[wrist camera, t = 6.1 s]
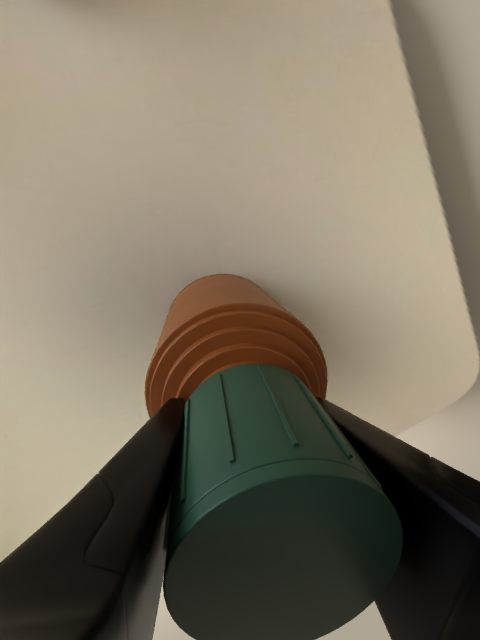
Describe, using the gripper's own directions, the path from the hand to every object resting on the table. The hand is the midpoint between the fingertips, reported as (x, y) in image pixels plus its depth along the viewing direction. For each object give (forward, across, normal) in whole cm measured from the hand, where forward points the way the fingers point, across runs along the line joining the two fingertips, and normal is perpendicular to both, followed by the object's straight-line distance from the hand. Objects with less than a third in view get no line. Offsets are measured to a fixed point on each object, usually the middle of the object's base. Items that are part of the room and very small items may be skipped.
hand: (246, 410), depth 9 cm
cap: (-1, 0, 0) cm, 1 cm away
